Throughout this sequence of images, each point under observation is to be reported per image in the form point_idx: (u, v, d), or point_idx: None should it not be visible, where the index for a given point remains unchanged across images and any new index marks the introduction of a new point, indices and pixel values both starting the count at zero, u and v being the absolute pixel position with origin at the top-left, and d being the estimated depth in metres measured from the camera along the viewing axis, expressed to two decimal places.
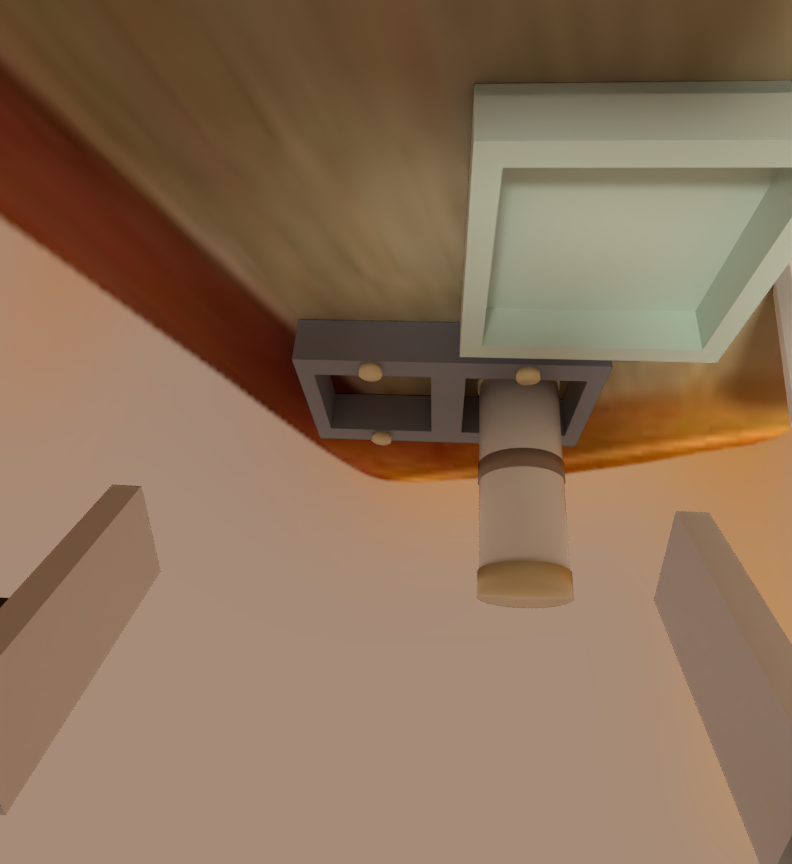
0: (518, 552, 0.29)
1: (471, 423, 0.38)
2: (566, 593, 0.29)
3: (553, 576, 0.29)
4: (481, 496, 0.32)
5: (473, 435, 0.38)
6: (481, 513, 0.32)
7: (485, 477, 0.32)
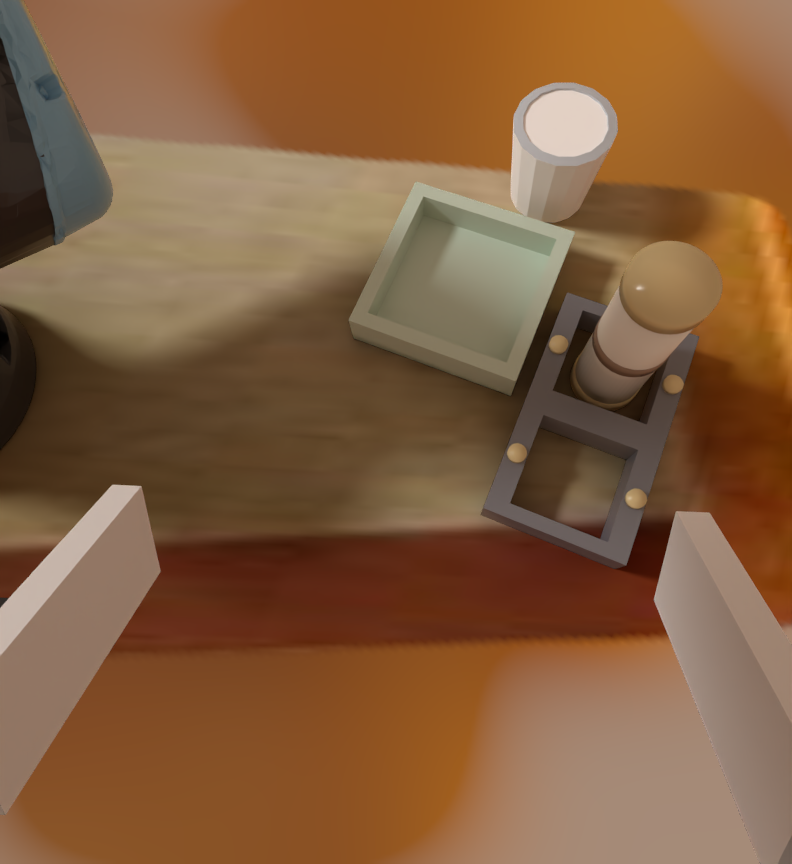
0: (618, 292, 0.32)
1: (646, 419, 0.40)
2: (656, 243, 0.31)
3: None
4: (620, 355, 0.35)
5: (655, 415, 0.40)
6: (624, 347, 0.34)
7: (609, 356, 0.36)
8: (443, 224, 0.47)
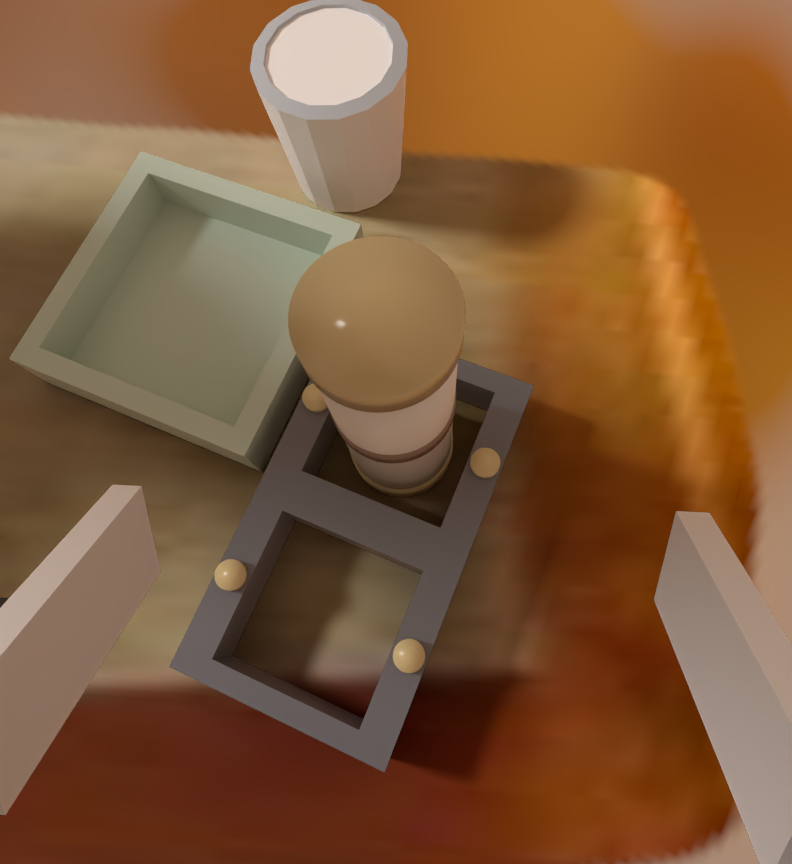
0: None
1: None
2: (354, 242, 0.17)
3: None
4: (348, 433, 0.20)
5: (455, 512, 0.25)
6: (342, 423, 0.19)
7: (342, 431, 0.21)
8: (192, 215, 0.32)
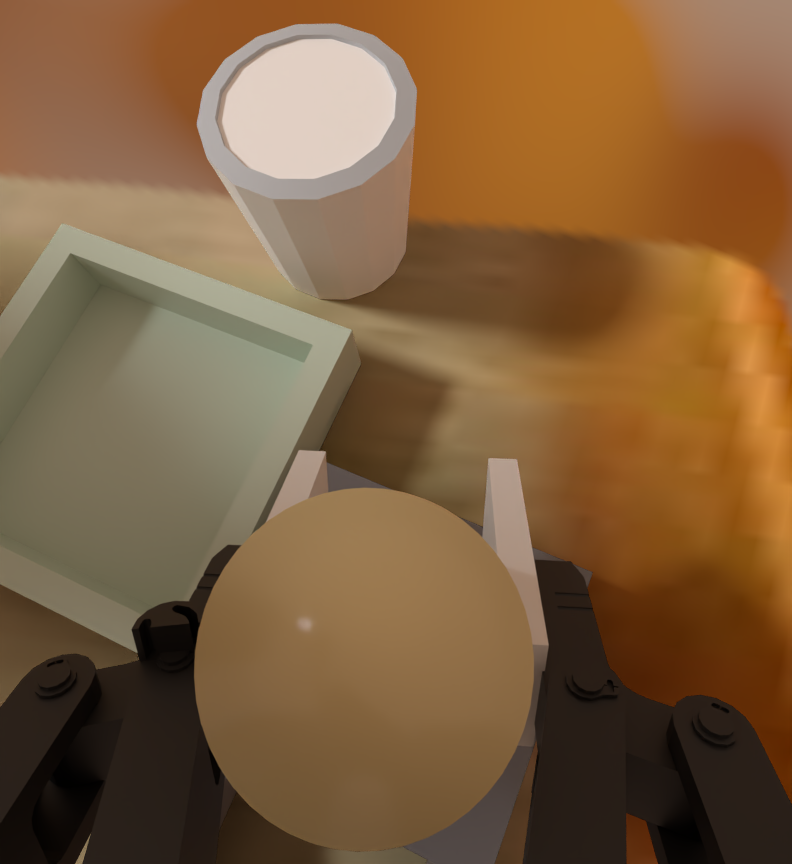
0: None
1: None
2: (323, 499, 0.09)
3: None
4: None
5: None
6: None
7: None
8: (133, 302, 0.25)
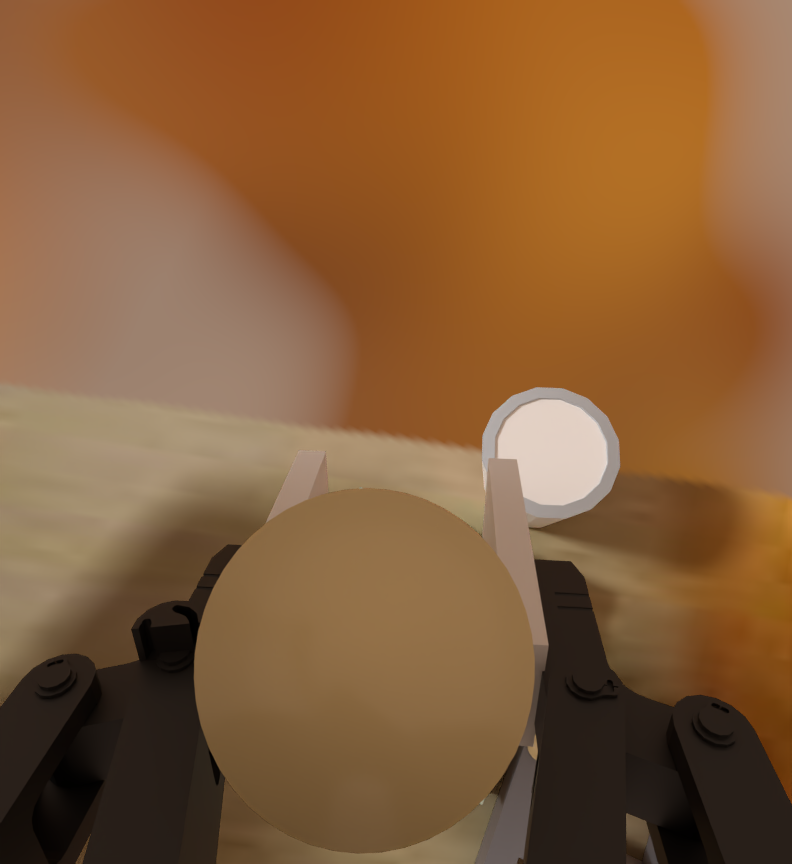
0: None
1: None
2: (323, 499, 0.09)
3: None
4: None
5: None
6: None
7: None
8: None
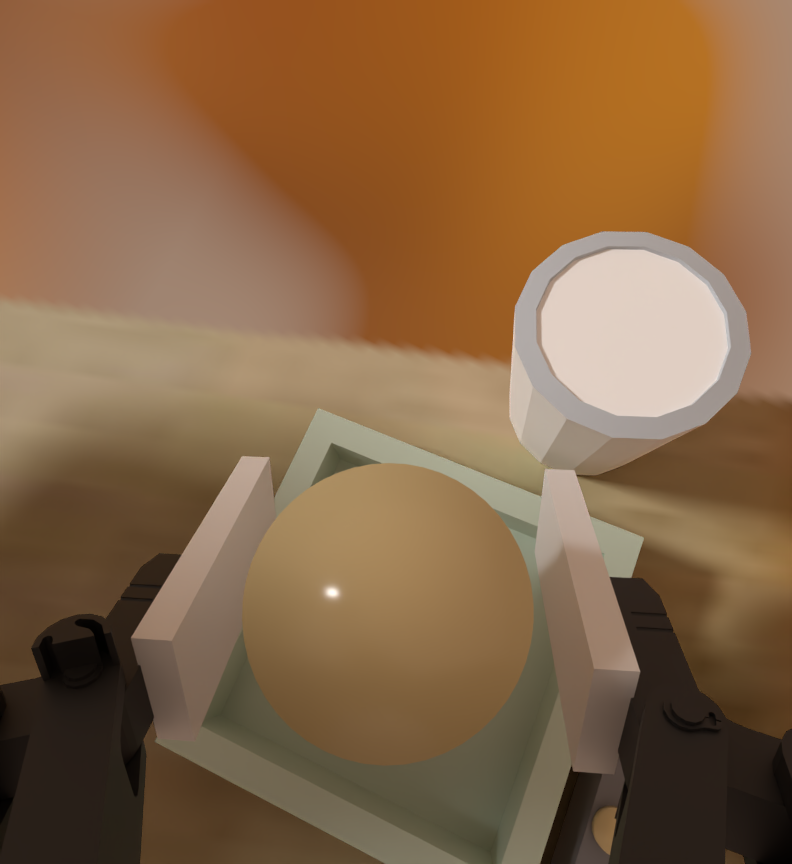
0: None
1: None
2: (353, 472, 0.11)
3: None
4: None
5: None
6: None
7: None
8: None
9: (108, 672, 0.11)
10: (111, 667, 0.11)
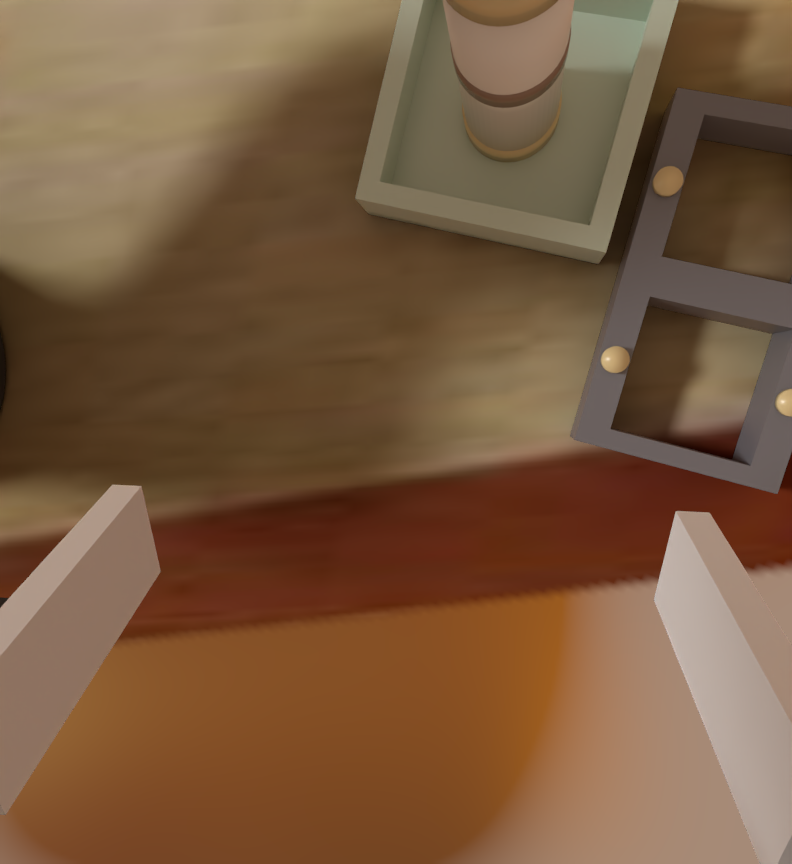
0: None
1: None
2: None
3: None
4: (478, 76, 0.23)
5: None
6: (475, 61, 0.22)
7: (470, 80, 0.24)
8: None
9: None
10: None
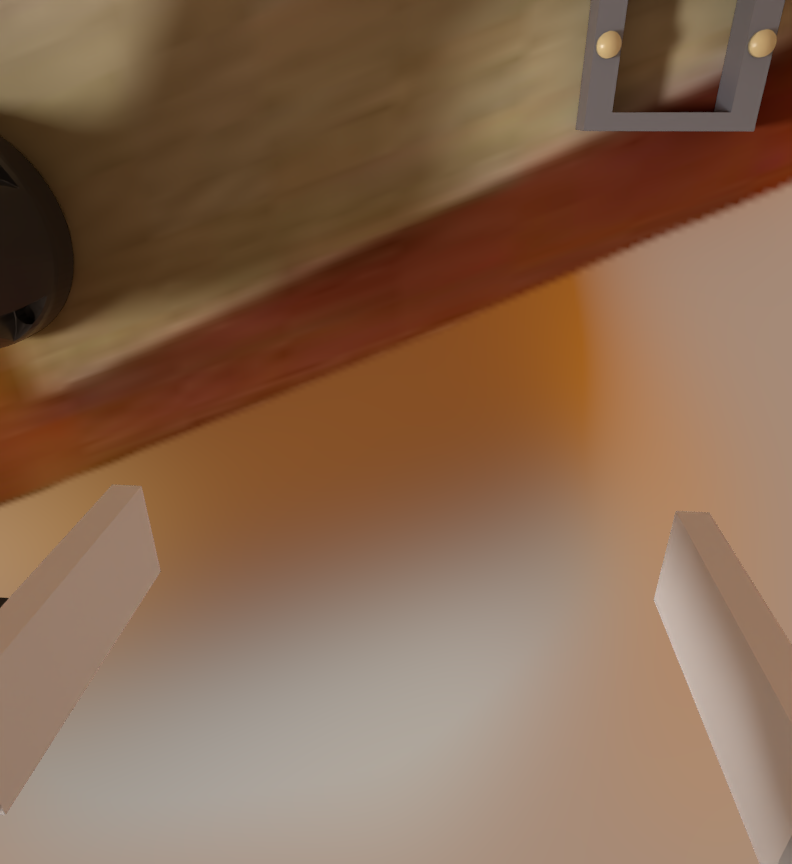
0: None
1: None
2: None
3: None
4: None
5: None
6: None
7: None
8: None
9: None
10: None
